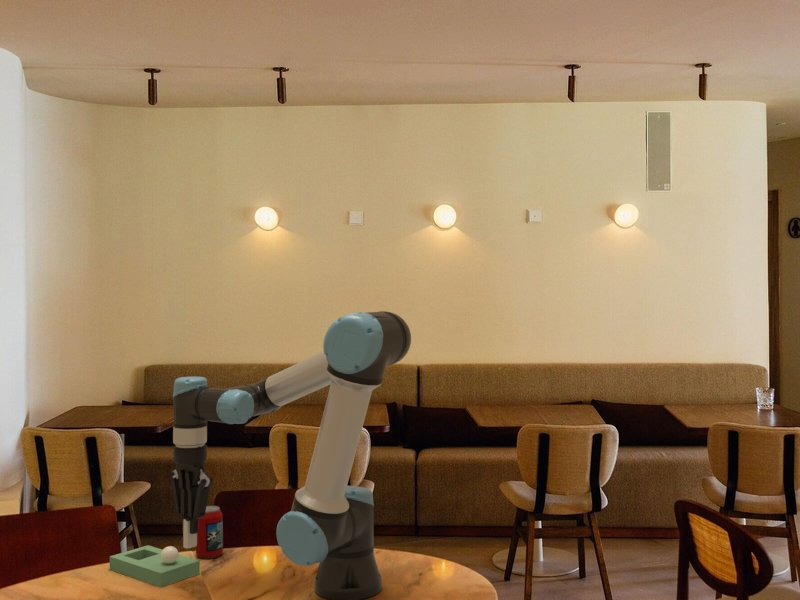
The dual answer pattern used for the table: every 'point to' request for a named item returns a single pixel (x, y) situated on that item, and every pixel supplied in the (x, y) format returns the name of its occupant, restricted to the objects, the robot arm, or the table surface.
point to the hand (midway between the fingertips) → (190, 546)
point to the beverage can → (210, 533)
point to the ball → (169, 555)
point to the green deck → (153, 566)
